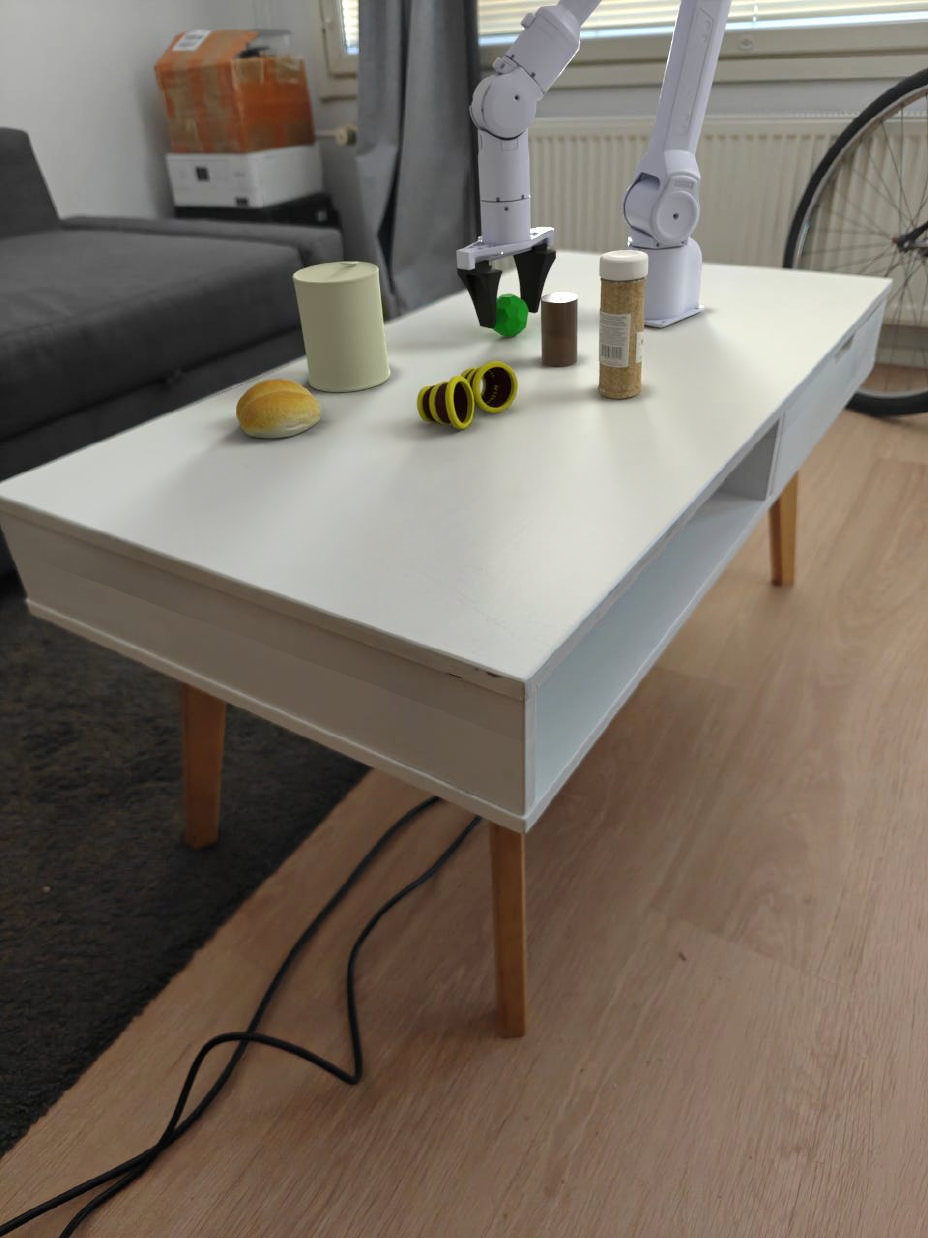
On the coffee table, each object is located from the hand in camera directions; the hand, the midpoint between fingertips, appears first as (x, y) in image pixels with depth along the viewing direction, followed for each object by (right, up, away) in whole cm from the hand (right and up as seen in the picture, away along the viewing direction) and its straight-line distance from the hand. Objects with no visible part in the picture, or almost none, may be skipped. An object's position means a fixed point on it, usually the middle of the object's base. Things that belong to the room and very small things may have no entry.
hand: (509, 318), depth 109 cm
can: (-18, -10, -8) cm, 22 cm away
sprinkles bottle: (+10, -14, -17) cm, 24 cm away
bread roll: (-24, -17, -19) cm, 35 cm away
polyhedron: (0, -2, +1) cm, 2 cm away
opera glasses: (-5, -17, -20) cm, 27 cm away
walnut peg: (+5, -8, -8) cm, 12 cm away
